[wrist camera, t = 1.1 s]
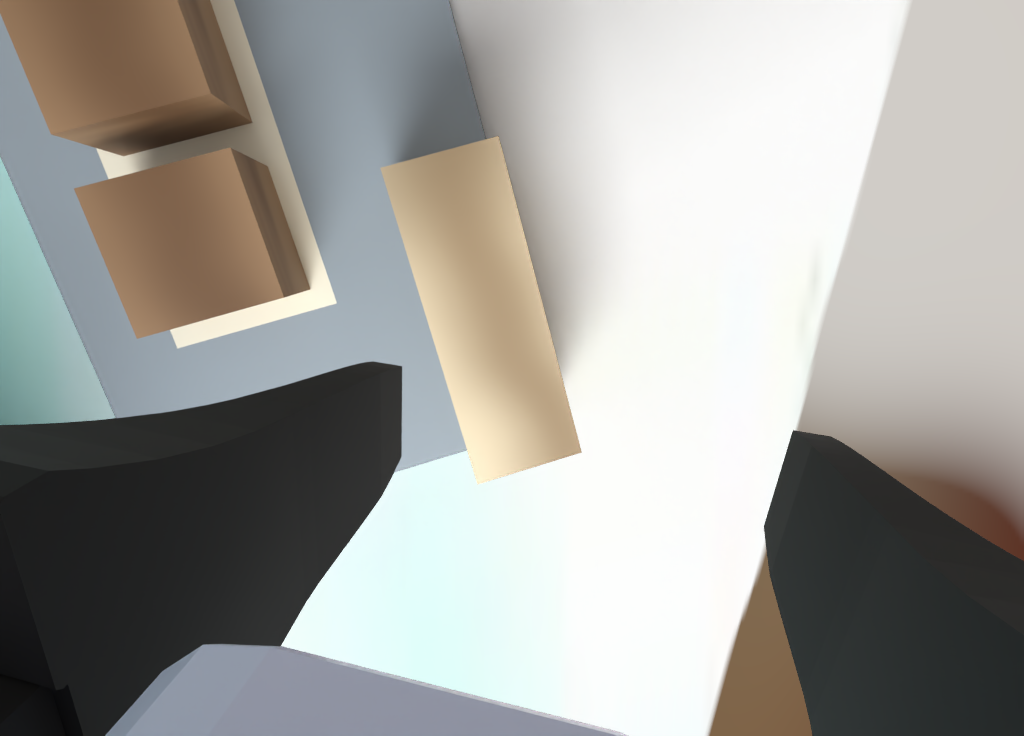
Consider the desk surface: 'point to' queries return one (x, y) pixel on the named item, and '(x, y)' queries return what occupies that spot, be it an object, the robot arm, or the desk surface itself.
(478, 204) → the tan rectangular block
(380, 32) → the board
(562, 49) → the desk surface
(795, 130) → the desk surface
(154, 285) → the brown wooden cube
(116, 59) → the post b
